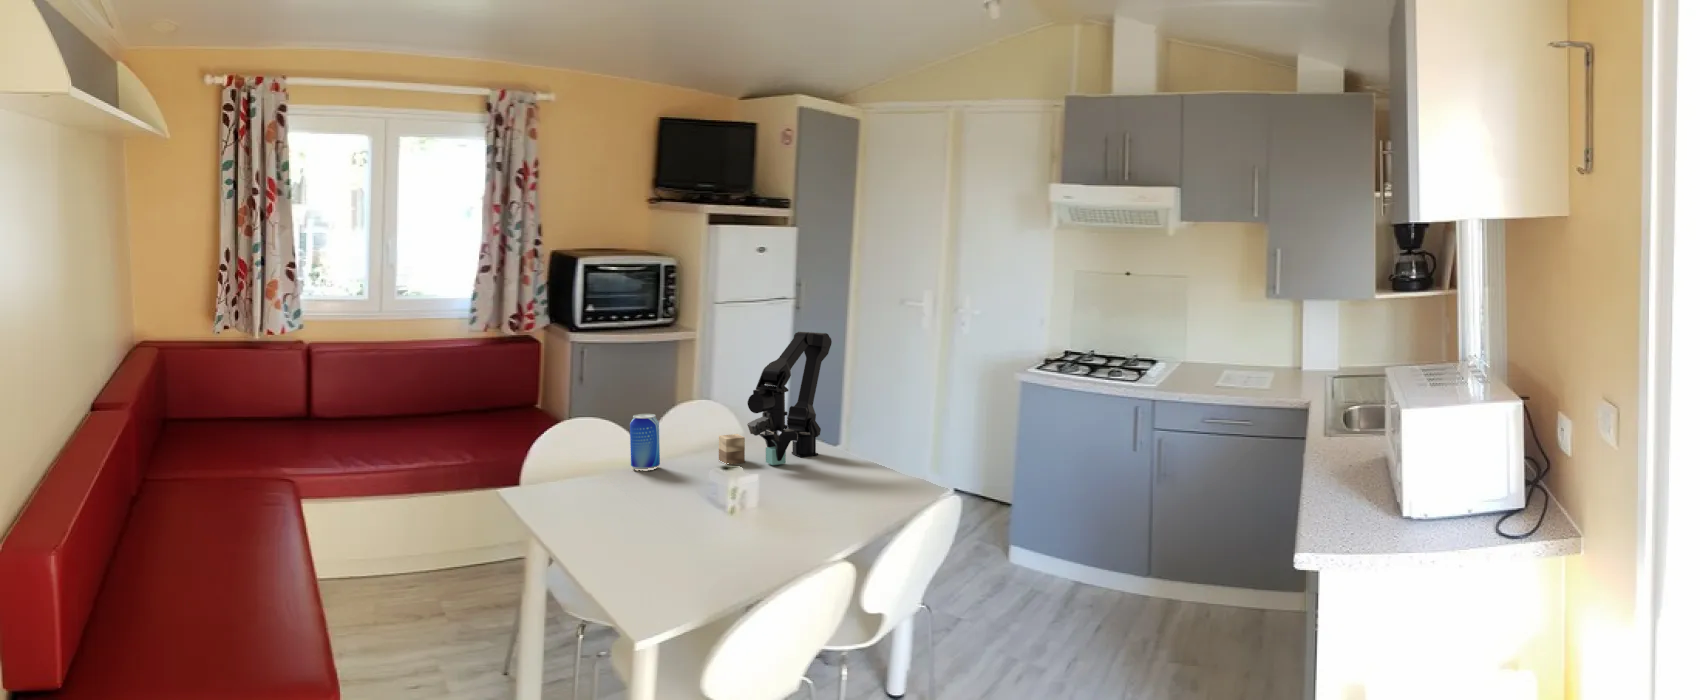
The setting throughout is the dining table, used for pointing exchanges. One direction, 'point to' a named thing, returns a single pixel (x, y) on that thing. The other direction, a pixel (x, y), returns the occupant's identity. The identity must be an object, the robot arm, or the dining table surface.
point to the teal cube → (774, 456)
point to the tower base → (732, 457)
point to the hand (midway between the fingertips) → (775, 459)
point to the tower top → (732, 443)
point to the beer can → (644, 441)
